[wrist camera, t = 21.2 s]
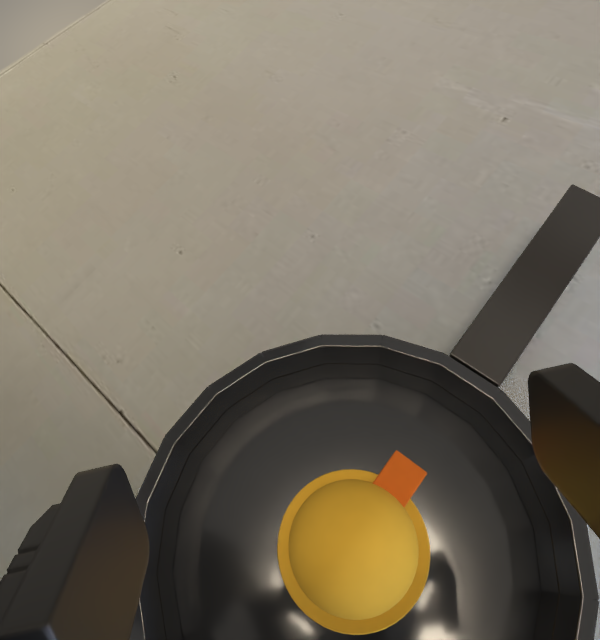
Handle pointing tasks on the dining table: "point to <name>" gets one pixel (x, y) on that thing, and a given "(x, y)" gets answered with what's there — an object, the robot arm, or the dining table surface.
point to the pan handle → (531, 288)
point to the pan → (369, 455)
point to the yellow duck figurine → (356, 547)
